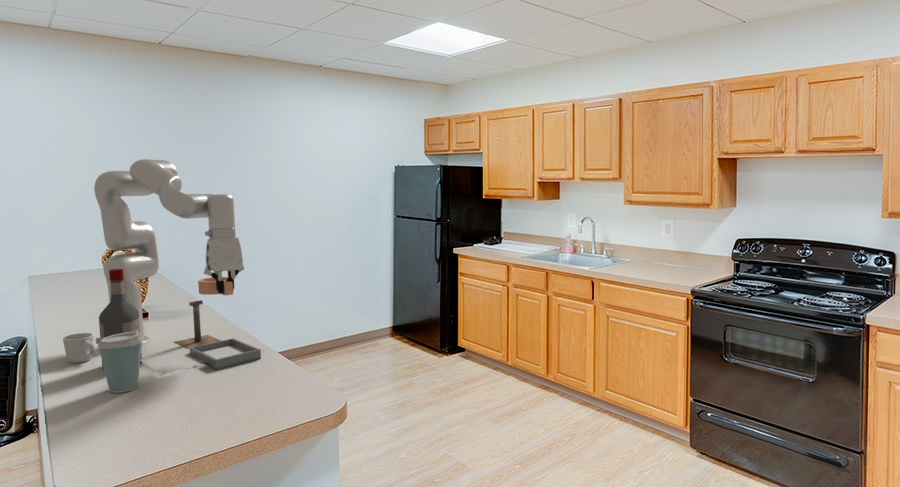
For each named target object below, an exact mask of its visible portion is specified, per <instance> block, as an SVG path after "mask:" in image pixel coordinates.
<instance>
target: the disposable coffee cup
mask: <svg viewBox="0 0 900 487" xmlns="http://www.w3.org/2000/svg"><path fill="white" fill-rule="evenodd" d="M143 343H144V342H143V337H141V336H140V333H139V332H126V333H120V334H115V335H111V336H108V337H105V338H103V339H101V340H100V342H98V344H97V347H98V350H99V354H100V359H101V364H102V363H103V367H104V368H103V367H102V368H103V371H104V374H105V378H106V383H107V386H108V389H109V390H110V392H111V393H115V394H118V393H120V394H121V393H126V392H130V391H132V390H135V389H137V387H138V384H139V377H140V368H141V367H140V366H141V362H140V361H141V360H142V359H141V354H142V350H143V349H142V348H143ZM140 359H141V360H140Z"/></svg>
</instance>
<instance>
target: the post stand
mask: <svg viewBox="0 0 900 487" xmlns="http://www.w3.org/2000/svg"><path fill="white" fill-rule="evenodd" d="M188 304H189V305H188V306H190V307H192V312H193V313H192V314H193V329H194V337H191V338H186V339H185V338H184V339H182V340H181V339H180V340H176V341H173V343H174V344H177V345H179V346H180V347H182V348H184V349H187V350H190V348H191V347H195V346H200V345H205V344H209V343H214V342H219V341H222V340H221V339H219V338H216V337H214V336H212V335H209V334H205V335H202V332H201V330H202V329H201V313H200V311H201V310H200V308H201V307H200V305H201V306H202V305H203V304H204V303H203V300H201V299H200V300H196V301H195V300H194V301H189V303H188Z"/></svg>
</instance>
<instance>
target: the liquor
mask: <svg viewBox="0 0 900 487" xmlns="http://www.w3.org/2000/svg"><path fill="white" fill-rule="evenodd" d="M109 276H110V281H111V299H110V301H111V302H109V303H108V304H107V305H106V306H105V307H104V309H103V310H102V311H101V312H100V314H99V315H98V316H99V317H98V326H99V337H100V340H101V339H103V338H105V337H108V336H111V335H115V334H120V333H126V332H139V333H140V323H139V312H138V310H137V309H136V308H135V307H134V306H133V305H131V304H130V303H129V302H128V301H127V300H126V297H125V294H124V282H123V279H124V273H123V269H111V270H109ZM142 359H143V358H142V353H141V359H140V363H141V362H142ZM101 366H102V368H103V369H104V367H103V363H102V362H101Z"/></svg>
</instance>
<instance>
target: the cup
mask: <svg viewBox="0 0 900 487" xmlns="http://www.w3.org/2000/svg"><path fill="white" fill-rule="evenodd" d="M62 341H63V346H64V351H65V356H66V360H67V362H68V363H70V362H71V364H80V362H81V363H85V362H88V361H90V360H91V359H92V358H93V355H94V354H95V345H94V333H91V332H81V333H79V332H78V333H73V334H69V335H67V336H64V337H63V338H62Z"/></svg>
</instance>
